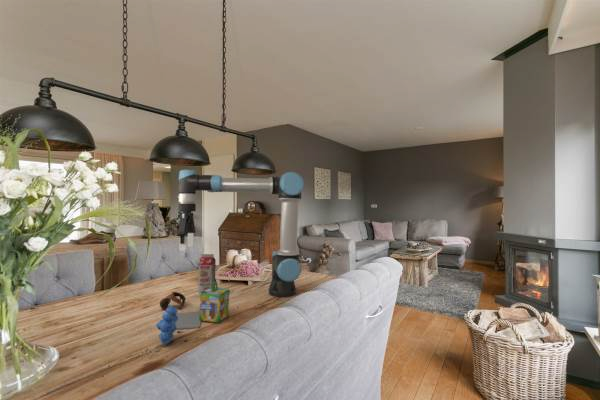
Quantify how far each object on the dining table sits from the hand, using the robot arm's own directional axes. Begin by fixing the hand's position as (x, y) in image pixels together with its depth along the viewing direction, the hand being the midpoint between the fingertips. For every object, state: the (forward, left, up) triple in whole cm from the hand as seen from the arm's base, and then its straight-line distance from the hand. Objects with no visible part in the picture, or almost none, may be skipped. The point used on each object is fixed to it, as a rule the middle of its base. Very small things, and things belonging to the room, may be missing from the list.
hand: (186, 248), depth 135 cm
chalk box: (-14, +16, -28) cm, 35 cm away
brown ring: (+7, 0, -28) cm, 29 cm away
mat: (-2, +16, -28) cm, 32 cm away
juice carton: (-8, -17, -28) cm, 34 cm away
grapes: (+1, +34, -28) cm, 44 cm away
